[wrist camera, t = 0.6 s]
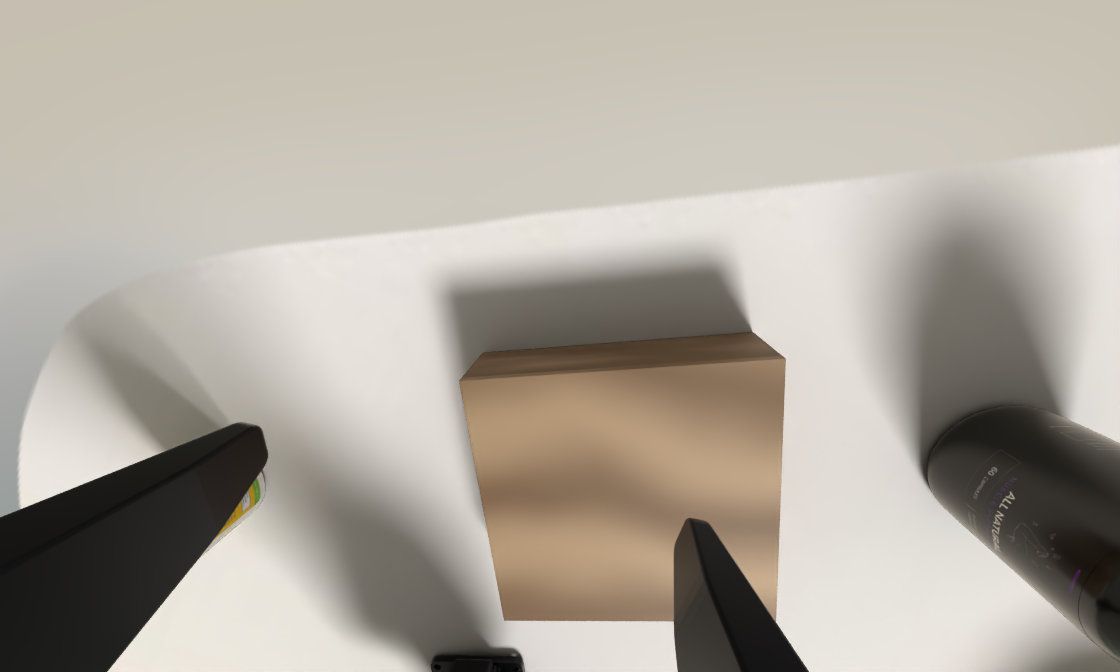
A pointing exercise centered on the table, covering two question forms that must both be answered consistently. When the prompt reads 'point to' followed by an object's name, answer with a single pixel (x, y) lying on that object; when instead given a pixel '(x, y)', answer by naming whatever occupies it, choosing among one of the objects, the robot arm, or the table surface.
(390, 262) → the table surface
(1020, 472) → the supplement bottle
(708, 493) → the block
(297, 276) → the table surface
